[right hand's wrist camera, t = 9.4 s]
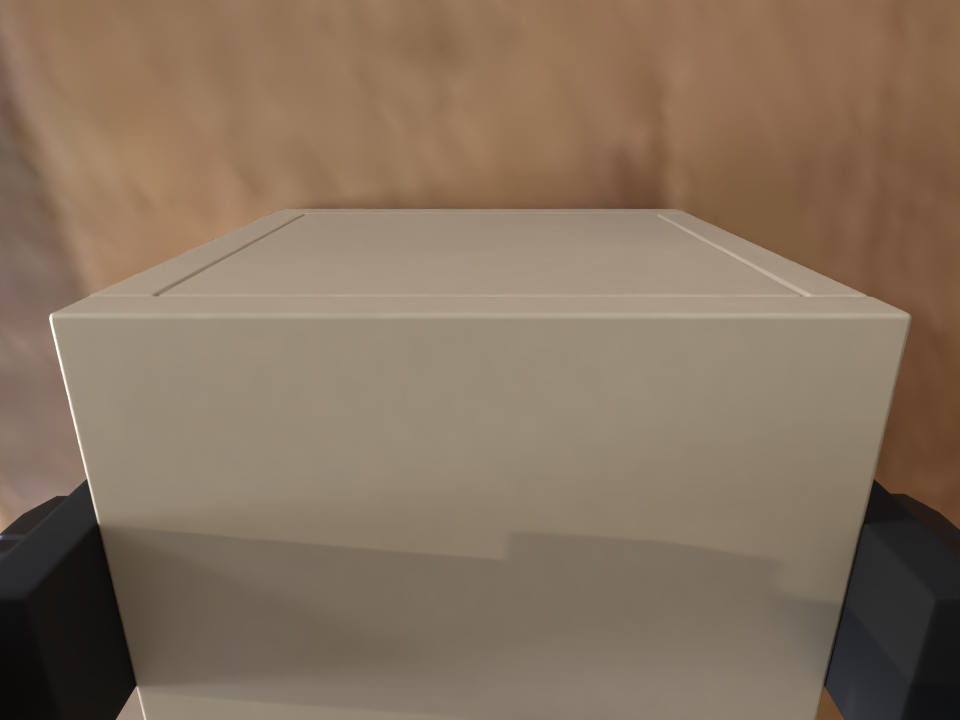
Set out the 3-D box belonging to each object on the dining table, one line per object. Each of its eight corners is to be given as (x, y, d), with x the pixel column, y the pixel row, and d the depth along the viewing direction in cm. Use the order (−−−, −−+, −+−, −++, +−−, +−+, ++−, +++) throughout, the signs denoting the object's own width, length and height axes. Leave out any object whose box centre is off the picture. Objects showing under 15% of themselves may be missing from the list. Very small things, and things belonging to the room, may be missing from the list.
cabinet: (617, 811, 23) (697, 1219, 15) (342, 812, 23) (261, 1219, 15) (680, 208, 16) (915, 314, 7) (280, 208, 16) (45, 313, 7)
